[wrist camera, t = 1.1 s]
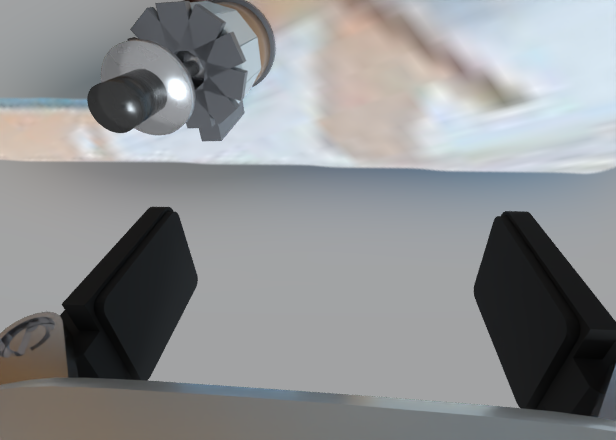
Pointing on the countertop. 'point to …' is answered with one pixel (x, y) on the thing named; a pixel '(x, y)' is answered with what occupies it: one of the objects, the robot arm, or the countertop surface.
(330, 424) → the robot arm
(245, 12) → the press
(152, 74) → the plunger
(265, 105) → the countertop surface
